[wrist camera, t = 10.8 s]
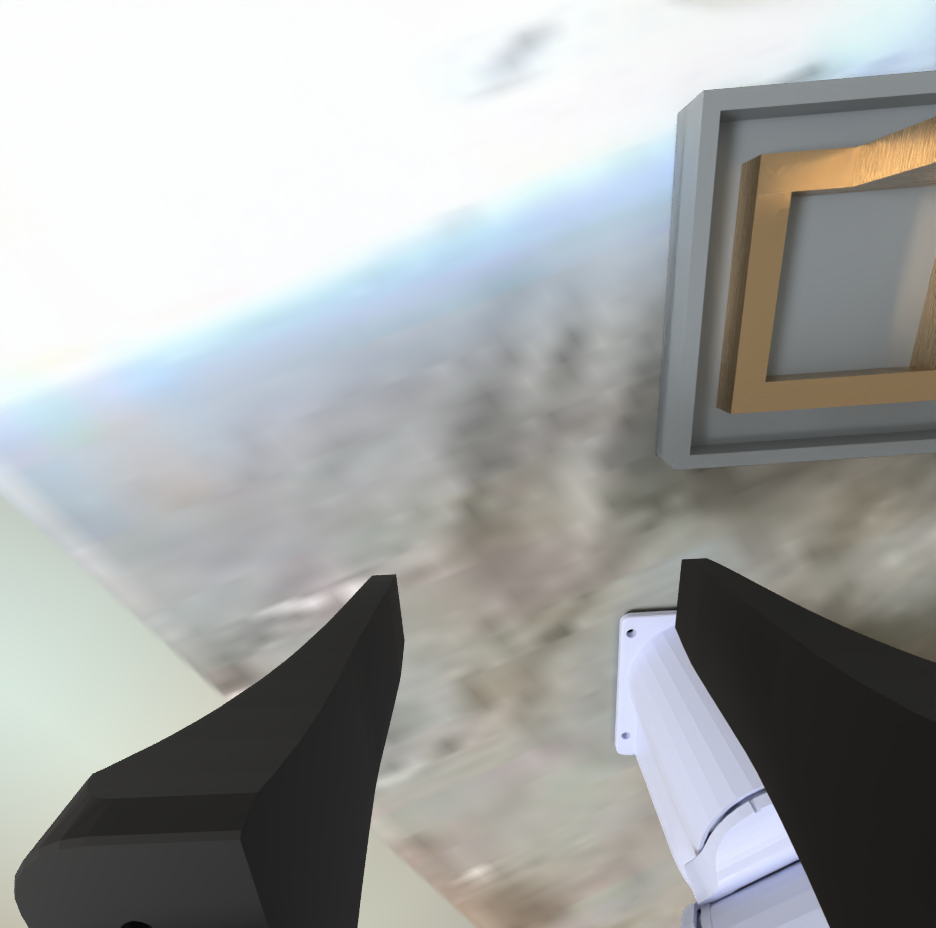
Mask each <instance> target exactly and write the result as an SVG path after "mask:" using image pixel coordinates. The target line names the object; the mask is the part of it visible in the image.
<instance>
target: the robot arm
mask: <svg viewBox="0 0 936 928" xmlns="http://www.w3.org/2000/svg"><path fill="white" fill-rule="evenodd" d="M631 629H634V630H633V631H632V632H629V633H628V632H627V631H628V630H631ZM403 650H404V633H403V625H402V618H401V610H400V602H399V594H398V586H397V578H396V574H395V575H375V576H371V577H370V579H369V580H368V581H367V582H366V583H365V584H364V585H363V586H362V587H361V588H360V589H359V590H358V591H357V592H356V593H355V594H354V596H353V597H352V598H351V599H350V600H349V601H348V602H347V603H346V604H345V605H344V606H343V607H342V608H341V609H340V610H339V612H338V613H337V614H336V615H335V616H334V617H333V618H332V619H331V620H330V621H329V622H328V623H327V624H326V625H325V626H324V627H323V628H322V629H320V630H319V631H318V632H317V633H316V634H315V635H314V636H313V637H312V638H311V639H310V640H309V641H308V642H307V643H305V644H304V645H303V646H302V647H301V648H300V649H299V650H298V651H296V652H295V653H294V654H293V655H292V656H291V657H289V658H288V659H287V660H286V661H284V662H283V663H282V664H281V665H279V666H278V667H277V668H275V669H274V670H273V671H272V672H270V673H269V674H268V675H266V676H265V677H264V678H262V679H261V680H260V681H258V682H257V683H255V684H254V685H252V686H251V687H249V688H248V689H246V690H245V691H243V692H242V693H240V694H239V695H237V696H236V697H234V698H233V699H231V700H230V701H228V702H227V703H225V704H224V705H222V706H221V707H220V708H218V709H216V710H214V711H213V712H211V713H210V714H208V715H206V716H204V717H203V718H201V719H199V720H198V721H196V722H194V723H192V724H191V725H189V726H187V727H185V728H184V729H182V730H180V731H178V732H176V733H175V734H173V735H171V736H169V737H167V738H165V739H163V740H161V741H160V742H158V743H156V744H154V745H152V746H150V747H148V748H146V749H144V750H142V751H139V752H137V753H135V754H133V755H131V756H129V757H127V758H125V759H123V760H121V761H119V762H117V763H115V764H113V765H111V766H109V767H107V768H105V769H103V770H100V771H98V772H96V773H93V774H92V775H91V776H90V778H89V779H88V780H87V781H86V782H85V784H84V785H83V786H82V787H81V789H80V790H79V791H78V792H77V794H76V795H75V796H74V797H73V799H72V800H71V801H70V802H69V804H68V805H67V806H66V807H65V809H64V810H63V811H62V812H61V814H60V815H59V816H58V817H57V819H56V820H55V821H54V822H53V824H52V825H51V826H50V828H49V829H48V830H47V831H46V833H45V834H44V835H43V836H42V838H41V839H40V840H39V842H38V843H37V844H36V845H35V846H34V848H33V849H32V850H31V851H30V853H29V854H28V855H27V856H26V858H25V859H24V860H23V862H22V864H21V866H20V867H19V869H18V871H17V873H16V875H15V888H14V893H15V900H16V903H17V905H18V908H19V910H20V913H21V915H22V917H23V919H24V920H25V922H26V924H27V925H28V927H29V928H357V925H358V918H359V908H360V900H361V892H362V884H363V875H364V868H365V860H366V853H367V845H368V837H369V830H370V823H371V816H372V809H373V802H374V794H375V788H376V783H377V777H378V772H379V767H380V763H381V759H382V754H383V750H384V746H385V742H386V738H387V733H388V729H389V725H390V721H391V717H392V712H393V708H394V704H395V700H396V695H397V691H398V687H399V682H400V677H401V669H402V660H403ZM625 732H626V733H625ZM615 747H616V750H617V752H618V753H619V754H622V755H632V754H635V755H636V758H637V761H638V763H639V766H640V769H641V771H642V774H643V777H644V780H645V782H646V785H647V788H648V790H649V793H650V796H651V799H652V801H653V804H654V807H655V809H656V812H657V815H658V818H659V820H660V823H661V826H662V828H663V831H664V834H665V837H666V839H667V842H668V845H669V847H670V850H671V853H672V855H673V858H674V860H675V862H676V865H677V867H678V869H679V871H680V872H681V874H682V876H683V877H684V879H685V880H686V882H687V883H688V884H689V886H690V887H691V888H692V891H693V893H694V896H695V899H696V901H697V902H694V903H691V904H689V905H687V906H686V907H685V909H684V910H683V911H682V916H681V928H936V663H935V662H932V661H929V660H926V659H923V658H920V657H918V656H915V655H912V654H909V653H907V652H904V651H901V650H899V649H896V648H894V647H891V646H889V645H886V644H884V643H881V642H879V641H876V640H874V639H871V638H869V637H867V636H864V635H862V634H859V633H857V632H855V631H852V630H850V629H848V628H845V627H843V626H841V625H839V624H837V623H835V622H832V621H830V620H828V619H826V618H824V617H822V616H820V615H818V614H815V613H813V612H811V611H809V610H807V609H805V608H803V607H801V606H799V605H797V604H795V603H793V602H791V601H789V600H787V599H785V598H783V597H781V596H780V595H778V594H776V593H774V592H772V591H770V590H768V589H766V588H764V587H762V586H761V585H759V584H757V583H755V582H753V581H751V580H749V579H747V578H746V577H744V576H742V575H740V574H738V573H736V572H734V571H732V570H730V569H728V568H726V567H725V566H722V565H720V564H718V563H716V562H714V561H712V560H709V559H707V558H702V559H683V560H682V564H681V573H680V583H679V593H678V602H677V610H671V611H654V612H637V613H628V614H625V615H623V616H622V618H621V620H620V633H619V656H618V679H617V702H616V726H615Z"/></svg>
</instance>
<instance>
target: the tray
mask: <svg viewBox="0 0 936 928" xmlns="http://www.w3.org/2000/svg"><path fill="white" fill-rule="evenodd" d="M935 116H936V71H925V72H913V73H902V74H890V75H878V76H866V77H855V78H843V79H831V80H819V81H807V82H796V83H784V84H772V85H760V86H749V87H737V88H725V89H713V90H704V91H703V92H701V93H700V94H699V95H698V96H697V97H696V98H695V99H694V100H692V101H691V102H690V103H689V104H688V105H687V106H686V107H685V108H683V109H682V110H681V111H680V112H679V113H678V120H677V135H676V151H675V166H674V182H673V198H672V213H671V229H670V244H669V260H668V275H667V291H666V306H665V322H664V337H663V353H662V368H661V384H660V399H659V415H658V430H657V446H656V456H658V457H659V458H660V459H661V460H662V461H664V462H665V463H666V464H667V465H668V466H670V467H671V468H672V469H673V470H682V469H697V468H712V467H728V466H743V465H758V464H773V463H788V462H803V461H818V460H833V459H848V458H863V457H878V456H894V455H909V454H924V453H936V400H930V401H916V402H901V403H886V404H872V405H857V406H842V407H827V408H813V409H798V410H783V411H769V412H754V413H739V414H730V413H727V412H725V411H723V410H720V409H718V408H716V403H717V393H718V384H719V374H720V365H721V356H722V346H723V337H724V327H725V318H726V309H727V299H728V290H729V280H730V271H731V261H732V252H733V243H734V233H735V224H736V214H737V205H738V195H739V186H740V177H741V167H742V164H743V163H745V162H747V161H749V160H751V159H753V158H755V157H757V156H759V155H761V154H772V153H784V152H797V151H809V150H822V149H834V148H846V147H859V146H862V145H864V144H867V143H869V142H872V141H874V140H877V139H879V138H882V137H884V136H887V135H889V134H892V133H895V132H897V131H900V130H902V129H905V128H907V127H910V126H912V125H915V124H917V123H920V122H923V121H925V120H928V119H930V118H933V117H935ZM935 256H936V186H927V187H915V188H902V189H889V190H876V191H864V192H851V193H838V194H825V195H813V196H800V197H791V201H790V208H789V215H788V222H787V230H786V237H785V244H784V251H783V258H782V266H781V273H780V280H779V287H778V294H777V302H776V309H775V316H774V323H773V330H772V338H771V345H770V352H769V359H768V366H767V373H766V376H775V375H789V374H804V373H818V372H832V371H847V370H861V369H875V368H890V367H904V366H910V361H911V357H912V353H913V349H914V345H915V340H916V336H917V332H918V328H919V324H920V319H921V315H922V311H923V307H924V303H925V298H926V294H927V290H928V286H929V282H930V277H931V273H932V269H933V265H934V260H935Z"/></svg>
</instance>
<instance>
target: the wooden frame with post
mask: <svg viewBox="0 0 936 928" xmlns="http://www.w3.org/2000/svg"><path fill="white" fill-rule="evenodd" d="M927 186H936V116H935V117H933V118H930V119H928V120H925V121H923V122H920V123H917V124H915V125H912V126H910V127H907V128H905V129H902V130H900V131H897V132H895V133H892V134H889V135H887V136H884V137H882V138H879V139H877V140H874V141H872V142H869V143H867V144H864V145H862V146H859V147H846V148H834V149H822V150H809V151H797V152H784V153H772V154H761V155H759V156H757V157H755V158H753V159H751V160H749V161H747V162H745V163H743V164H742V167H741V177H740V186H739V195H738V205H737V214H736V224H735V233H734V243H733V252H732V261H731V271H730V280H729V290H728V299H727V309H726V318H725V327H724V337H723V346H722V356H721V365H720V374H719V384H718V393H717V403H716V408H718V409H720V410H723V411H725V412H727V413H730V414H739V413H754V412H769V411H783V410H798V409H813V408H827V407H842V406H857V405H872V404H886V403H901V402H916V401H930V400H936V256H935V260H934V265H933V269H932V273H931V277H930V282H929V286H928V290H927V294H926V298H925V303H924V307H923V311H922V315H921V319H920V324H919V328H918V332H917V336H916V340H915V345H914V349H913V353H912V357H911V361H910V366H904V367H890V368H875V369H861V370H847V371H832V372H818V373H804V374H789V375H775V376H766V373H767V366H768V359H769V352H770V345H771V338H772V330H773V323H774V316H775V309H776V302H777V294H778V287H779V280H780V273H781V266H782V258H783V251H784V244H785V237H786V230H787V222H788V215H789V208H790V201H791V197H800V196H813V195H825V194H838V193H851V192H864V191H876V190H889V189H902V188H915V187H927Z"/></svg>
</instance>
